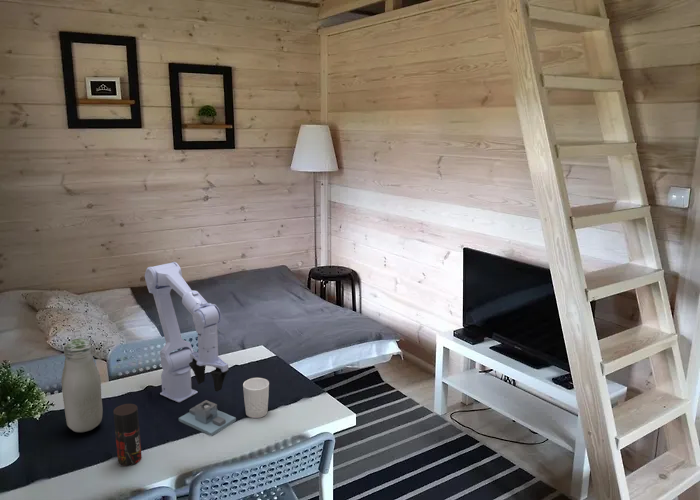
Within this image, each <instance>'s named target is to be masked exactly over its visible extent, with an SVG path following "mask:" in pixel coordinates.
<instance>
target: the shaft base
mask: <svg viewBox="0 0 700 500" xmlns="http://www.w3.org/2000/svg"><path fill="white" fill-rule="evenodd" d="M208 407H209V405H205V406H204V408H205V409H206V408H208ZM188 410H189V412H186V413H185V414H184V415H181V416H180V417H178V422H180V423H181V424H184V425H186V426H188V427H190V428H193V429H195V430H197V431H199V432H200V433H203V434H206V435H208V436H210V437H213V436H214V435H216V434H218V433H219V432H221V431H223V430H224V429H225V428H226V427H228V426H230V425H232V424H234V423H235V422H236V421H237V418H236V416H232V415H230V414H228V413H226V412H223V411H220V410H218V409H217V417H216V418H215V419H213V420H212V421H211V422H209V423H207V424H204V423H202V422H200V421H198V420H195V406H193V407H191V408H190V409H188Z"/></svg>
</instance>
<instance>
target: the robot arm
mask: <svg viewBox="0 0 700 500" xmlns="http://www.w3.org/2000/svg"><path fill="white" fill-rule="evenodd" d="M144 279H145V280H144V281H145V284H146V287H147V290H148V293H149V294H152V295H153V299H154V302H155V306H156V309H157V310H156V311H157V313H158V314H157V315H158V317H159V322H160V324H161V329H162V332H163V337H164V340H165V344H164V346H163V347H162V348H161V349H160V351H159V357H160V365H161V366H160V367H161V369H162V372H161V375H160V376H161V377H160V378H161V379H160V380H161V392H160V393H159V394H160V395H161V396H163V397H165V398H168V399H169V400H172V401H173V402H174V401H175V402H177V403H181V402H183V401H185V400H187V399H189V398H191V397H192V396H194V395H197V394H198V391H197V390H196V389H193V388H192V374H191V370H192V371H193V374H194V376H195V379H196V382H197V384H198V385H200V384H202V383H205V380H206V366H207V367H212V368H215V369H214V370H211V371H210V375H211V377H212V380H213V387H214V391H215V392H219V391H221V390H223V384H224V381H225V378H226V376H227V374H228V372H229V371H230V368H229V364H228V363H227V362H225V361H224V360H223V359H222V358H221V357H220V356H219V343H218V342H219V341H218V339H219V337H218V324H219V323H220V322H221V320H222V313H221V311H220V308H219V307H218V306H217V304H215V303H211V302H208V301H207V300H206V299H205V298H204V297H203V296H202V294H201V293H200V292H199V291H198V290H192V289H191V287H190V285H188V283H187V282H186V280H185V279H184V277H183V273H182V268H181V266H180V265H179V263H177V262H176V261H172V262H169V263H163V264H159V265H155V266H148V267H146V269H145V273H144ZM172 290H173V291H174V292H175V293H176V294H177V295H179V296H180V298H182V299H181V303H182V305H183V306H184V308H186V310H187V311H188V312H189V313H190V314H191V316H192V321H193V324H194V326H195V328H194V329H195V332H196V333H197V349H198V351H195V350H194V349H193V347H192V344H191V342H189V341H187V340H185V339H183V337H182V334H181V330H180V326H179V323H178V318H177V316H176V311H175V307H174V303H173V299H172V295H171V291H172Z"/></svg>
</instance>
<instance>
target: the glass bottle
mask: <svg viewBox="0 0 700 500" xmlns="http://www.w3.org/2000/svg"><path fill="white" fill-rule="evenodd" d="M63 349H64V351H63V355H64V357H65V358H64V366H63V370H62V374H61V389H62V390H61V393H62V401H63V406H64V408H63V409H64V413H65V419H66V420H65V422H66V426H67V427H68V428H69V429H70V430H71V431H73V432H75V433H85V432H89V431H92V430H94V429H95V428H96V427H98V426H99V425H100V424H101V422H102V419H103V413H104V411H103V400H102V398H103V397H102V381H101V376H100V373H99V370H98V368H97V366H96V363H95V360H94V356H93V352H94V350H93V346H92V343H91V341H90V340H88V338H82V337H81V338H80V337H79V338H76V339H72V340H69V341H68V342H67V343H66V344H65V345H64V347H63Z"/></svg>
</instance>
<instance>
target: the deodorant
mask: <svg viewBox="0 0 700 500" xmlns="http://www.w3.org/2000/svg"><path fill="white" fill-rule="evenodd" d="M112 413H113V421H114V432H115V434H114V435H115V443H116V444H115V445H116V453H117V462H118V465H119V466H121V467H131V466H134V465H136V464H138V463H139V462H141V460H142V458H143V457H142V456H143V455H142V446H141V445H142V442H141V433H140V431H141V430H140V423H139V420H140V419H139V409H138V405H136V404H134V403H123V404H121V405H118V406H116V407H115V408H114V409H113V412H112Z"/></svg>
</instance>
